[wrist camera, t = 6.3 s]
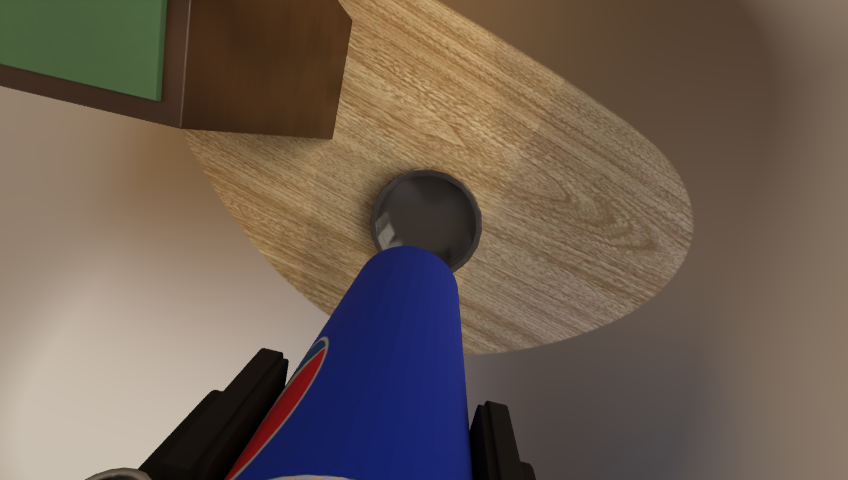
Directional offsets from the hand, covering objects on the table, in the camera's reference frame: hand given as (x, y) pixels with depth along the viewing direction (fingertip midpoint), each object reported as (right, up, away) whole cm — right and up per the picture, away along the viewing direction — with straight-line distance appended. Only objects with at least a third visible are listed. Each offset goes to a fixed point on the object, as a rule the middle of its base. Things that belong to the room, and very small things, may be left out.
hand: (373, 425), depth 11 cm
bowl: (+2, +7, +33) cm, 34 cm away
